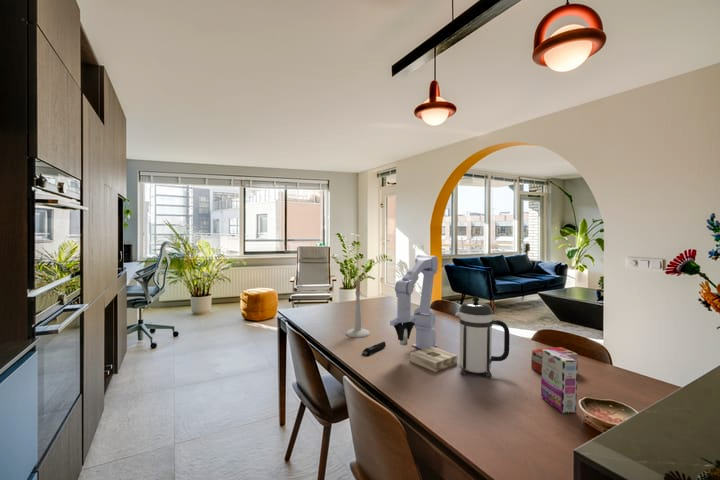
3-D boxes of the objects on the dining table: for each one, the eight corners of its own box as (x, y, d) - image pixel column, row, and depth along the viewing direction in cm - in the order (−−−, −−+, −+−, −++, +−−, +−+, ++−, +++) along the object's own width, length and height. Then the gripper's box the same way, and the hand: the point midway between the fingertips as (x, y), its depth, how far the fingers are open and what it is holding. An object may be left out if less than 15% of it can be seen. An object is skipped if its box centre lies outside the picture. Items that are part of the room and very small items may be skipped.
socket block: (431, 353, 156) (431, 346, 156) (457, 363, 145) (457, 355, 145) (409, 361, 148) (409, 353, 147) (435, 371, 137) (435, 363, 136)
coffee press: (477, 383, 126) (478, 302, 125) (447, 367, 140) (448, 294, 140) (510, 374, 134) (511, 298, 133) (478, 360, 148) (479, 291, 148)
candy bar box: (577, 413, 106) (578, 360, 105) (562, 414, 105) (563, 361, 105) (554, 396, 117) (555, 348, 117) (540, 396, 117) (541, 348, 116)
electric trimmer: (387, 348, 165) (387, 341, 165) (367, 357, 153) (368, 350, 153) (381, 346, 167) (381, 340, 167) (361, 355, 155) (361, 348, 155)
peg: (403, 342, 151) (403, 326, 151) (408, 344, 149) (409, 328, 149) (398, 344, 149) (398, 328, 149) (403, 345, 147) (403, 329, 147)
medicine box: (546, 377, 132) (546, 356, 132) (530, 369, 140) (531, 349, 140) (577, 373, 136) (578, 353, 136) (561, 365, 144) (561, 346, 144)
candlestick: (374, 333, 188) (374, 278, 187) (361, 339, 177) (361, 281, 176) (354, 329, 195) (354, 276, 194) (341, 335, 184) (341, 279, 183)
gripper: (398, 312, 141) (398, 345, 141) (422, 307, 150) (422, 338, 150) (386, 309, 147) (386, 340, 147) (410, 304, 156) (410, 334, 156)
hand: (403, 339), depth 149 cm, fingers closed on peg, 3 cm apart
